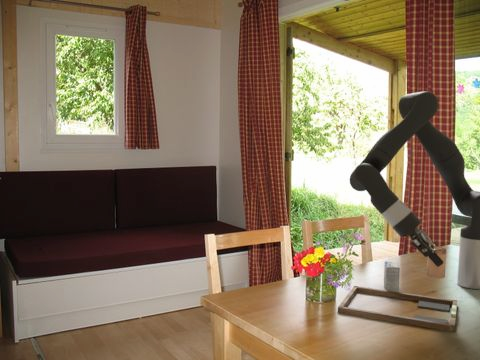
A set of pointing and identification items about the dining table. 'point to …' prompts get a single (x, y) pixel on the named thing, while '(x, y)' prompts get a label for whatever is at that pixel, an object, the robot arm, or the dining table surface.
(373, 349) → the dining table surface
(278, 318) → the dining table surface
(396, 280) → the medicine box
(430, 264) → the terracotta jar
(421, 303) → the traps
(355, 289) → the box
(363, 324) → the dining table surface
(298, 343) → the dining table surface
